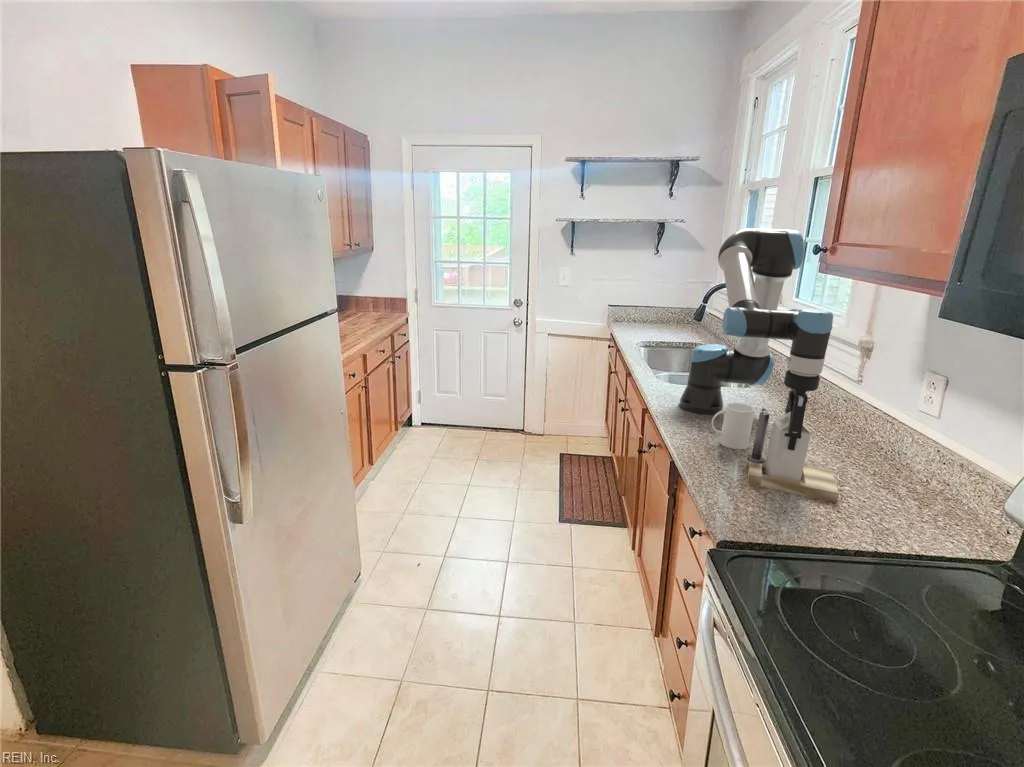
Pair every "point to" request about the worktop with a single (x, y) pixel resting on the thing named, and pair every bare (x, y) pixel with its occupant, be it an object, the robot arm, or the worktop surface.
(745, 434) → the mug
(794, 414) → the robot arm
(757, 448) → the metal door lever handle
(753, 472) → the tan flat frame
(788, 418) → the milk carton
